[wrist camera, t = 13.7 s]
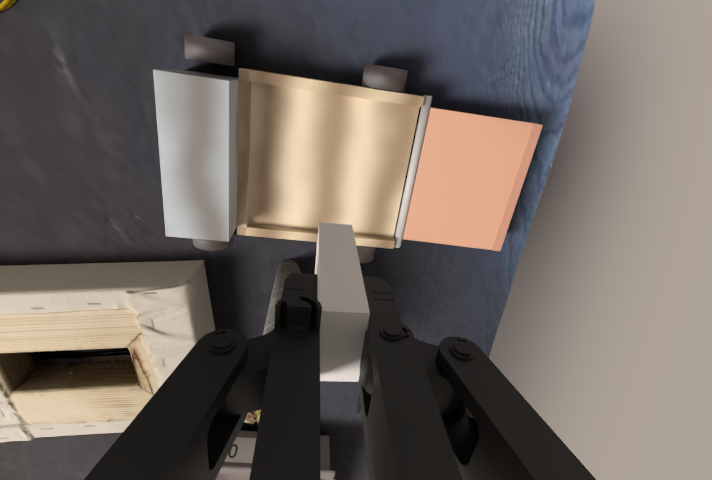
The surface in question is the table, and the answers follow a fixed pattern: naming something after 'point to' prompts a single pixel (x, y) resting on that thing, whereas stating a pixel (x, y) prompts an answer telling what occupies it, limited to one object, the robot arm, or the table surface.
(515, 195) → the tailgate
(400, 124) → the truck bed
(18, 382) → the box
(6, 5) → the extension cord
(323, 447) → the organizer tray
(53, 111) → the table surface
